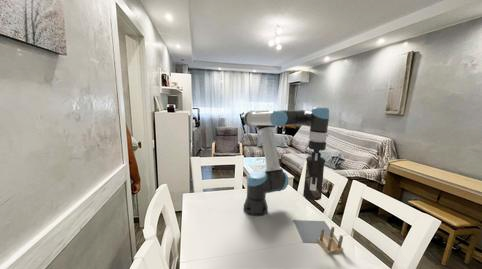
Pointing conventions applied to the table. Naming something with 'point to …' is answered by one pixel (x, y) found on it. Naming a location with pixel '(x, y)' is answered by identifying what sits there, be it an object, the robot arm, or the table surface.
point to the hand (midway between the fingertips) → (312, 186)
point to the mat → (312, 230)
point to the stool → (330, 242)
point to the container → (307, 192)
